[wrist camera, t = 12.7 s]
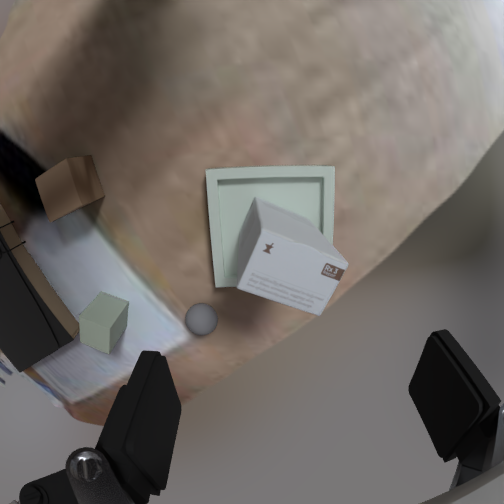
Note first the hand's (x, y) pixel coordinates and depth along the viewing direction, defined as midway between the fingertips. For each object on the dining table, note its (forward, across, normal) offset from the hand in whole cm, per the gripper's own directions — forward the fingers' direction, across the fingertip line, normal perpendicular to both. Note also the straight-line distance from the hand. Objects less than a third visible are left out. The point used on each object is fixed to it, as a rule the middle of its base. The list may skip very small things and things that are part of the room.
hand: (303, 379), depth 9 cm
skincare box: (+21, -1, +1) cm, 21 cm away
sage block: (+22, +20, +11) cm, 31 cm away
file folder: (+22, +44, +5) cm, 50 cm away
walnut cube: (+22, +21, -5) cm, 31 cm away
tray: (+22, 0, +1) cm, 22 cm away
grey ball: (+21, +8, +11) cm, 25 cm away
